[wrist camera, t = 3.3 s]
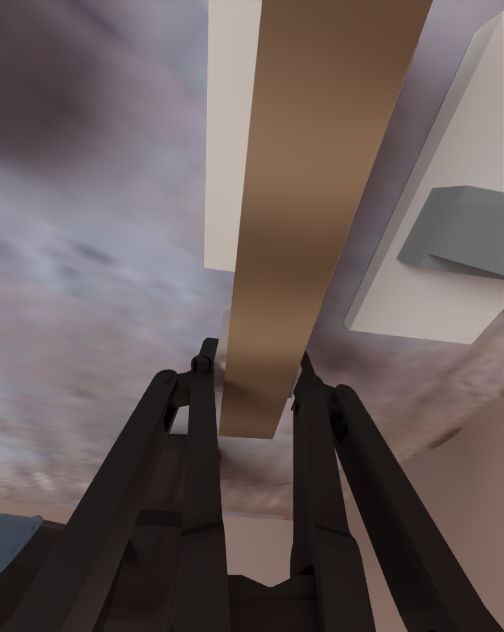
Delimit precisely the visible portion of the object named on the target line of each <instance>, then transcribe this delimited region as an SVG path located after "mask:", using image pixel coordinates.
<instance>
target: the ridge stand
mask: <svg viewBox="0 0 504 632" xmlns="http://www.w3.org/2000/svg"><path fill="white" fill-rule="evenodd" d="M503 309H504V11H502V12H501V13H500V14H498V15H497V16H496V17H494V18H493V19H492V20H490V21H489V22H488V23H486V24H485V25H484V26H482V27H481V28H480V29H478V30H477V31H476V32H475V33H474V35H473V37H472V40H471V42H470V44H469V46H468V48H467V51H466V53H465V55H464V57H463V59H462V62H461V64H460V66H459V68H458V70H457V73H456V75H455V77H454V79H453V82H452V84H451V86H450V88H449V90H448V93H447V95H446V97H445V99H444V101H443V104H442V106H441V108H440V110H439V112H438V115H437V117H436V119H435V121H434V123H433V126H432V128H431V130H430V132H429V134H428V137H427V139H426V141H425V143H424V146H423V148H422V150H421V152H420V154H419V157H418V159H417V161H416V163H415V165H414V168H413V170H412V172H411V174H410V176H409V179H408V181H407V183H406V185H405V187H404V190H403V192H402V194H401V196H400V199H399V201H398V203H397V205H396V207H395V210H394V212H393V214H392V216H391V218H390V221H389V223H388V225H387V227H386V229H385V232H384V234H383V236H382V238H381V240H380V243H379V245H378V247H377V249H376V252H375V254H374V256H373V258H372V260H371V263H370V265H369V267H368V269H367V271H366V274H365V276H364V278H363V280H362V282H361V285H360V287H359V289H358V291H357V293H356V296H355V298H354V300H353V302H352V305H351V307H350V309H349V311H348V313H347V316H346V318H345V320H344V322H343V323H344V324H345V326H346V327H347V328H348V329H349V331H358V332H367V333H376V334H384V335H393V336H402V337H411V338H419V339H428V340H437V341H446V342H455V343H463V344H472V343H473V342H474V341H475V339H476V338H477V337H478V336H479V335H480V334H481V333H482V332H483V331H484V330H485V328H486V327H487V326H488V325H489V324H490V323H491V322H492V321H493V320H494V319H495V318H496V316H497V315H498V314H499V313H500V312H501V311H502V310H503Z"/></svg>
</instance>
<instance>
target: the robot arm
mask: <svg viewBox="0 0 504 632" xmlns="http://www.w3.org/2000/svg"><path fill="white" fill-rule="evenodd" d="M230 316H231V310H225V314H224V319H223V323H222V328H221V332H220V337H219V339H216V338H206V339H205V340H204V341H203V344H202V347H201V350H200V353H199V355H197V356H195V357H194V358H193V359H192V361H191V370H190V371H188V372H185V373H180V374H177V372H175V371H174V370H170V369H168V370H163V371H160V372H159V373H157V374H156V375H155V376H154V378H153V380H152V381H151V383H150V385H149V386H148V388H147V390H146V392H145V393H144V395H143V397H142V398H141V400H140V402H139V403H138V405H137V407H136V408H135V410H134V412H133V413H132V415H131V417H130V418H129V420H128V422H127V424H126V425H125V427H124V429H123V430H122V432H121V434H120V435H119V437H118V439H117V440H116V442H115V444H114V445H113V447H112V449H111V450H110V452H109V454H108V455H107V457H106V459H105V461H104V462H103V464H102V466H101V467H100V469H99V471H98V472H97V474H96V476H95V477H94V479H93V481H92V482H91V484H90V486H89V487H88V489H87V491H86V493H85V494H84V496H83V498H82V499H81V501H80V503H79V504H78V506H77V508H76V510H75V511H74V513H73V514H72V516H71V518H70V520H69V521H68V523H67V524H62V523H56V522H52V521H47V520H43V517H41V516H39V515H37V516H34V517H26V516H18V515H11V514H3V513H0V632H376V629H375V623H374V619H373V613H372V608H371V603H370V599H369V593H368V588H367V583H366V578H365V573H364V568H363V563H362V557H361V554H360V550H359V547H358V544H357V542H356V540H355V539H354V537H353V536H352V535H351V533H350V531H349V527H348V522H347V517H346V511H345V505H344V499H343V494H342V488H341V482H340V476H339V471H338V465H337V459H336V453H335V449H336V452H337V454H338V457H339V460H340V462H341V465H342V467H343V470H344V473H345V475H346V478H347V480H348V483H349V486H350V488H351V491H352V493H353V496H354V499H355V501H356V504H357V506H358V509H359V512H360V514H361V517H362V520H363V522H364V525H365V527H366V530H367V533H368V535H369V538H370V540H371V543H372V545H373V548H374V551H375V553H376V556H377V558H378V561H379V564H380V566H381V569H382V571H383V574H384V577H385V579H386V582H387V585H388V587H389V590H390V592H391V595H392V597H393V599H394V602H395V604H396V607H397V609H398V612H399V614H400V616H401V618H402V620H403V622H404V625H405V627H406V628H407V631H408V632H504V630H503V629H502V628H501V626H500V625H499V624H498V623H497V621H496V620H495V619H494V617H493V616H492V615H491V614H490V612H489V611H488V610H487V609H486V607H485V606H484V604H483V603H482V601H481V599H480V597H479V596H478V594H477V592H476V591H475V589H474V588H473V586H472V584H471V583H470V581H469V579H468V578H467V576H466V574H465V573H464V571H463V569H462V568H461V566H460V564H459V563H458V561H457V559H456V558H455V556H454V554H453V553H452V551H451V550H450V548H449V546H448V544H447V543H446V541H445V540H444V538H443V536H442V535H441V533H440V531H439V530H438V528H437V526H436V525H435V523H434V521H433V520H432V518H431V517H430V515H429V513H428V512H427V510H426V508H425V507H424V505H423V503H422V501H421V500H420V498H419V496H418V495H417V493H416V491H415V490H414V488H413V487H412V485H411V483H410V482H409V480H408V478H407V477H406V475H405V473H404V472H403V470H402V468H401V467H400V465H399V463H398V462H397V460H396V458H395V457H394V455H393V453H392V452H391V450H390V448H389V447H388V445H387V443H386V442H385V440H384V438H383V437H382V435H381V434H380V432H379V430H378V429H377V427H376V425H375V424H374V422H373V420H372V419H371V417H370V415H369V414H368V412H367V410H366V409H365V407H364V405H363V404H362V402H361V400H360V399H359V397H358V395H357V394H356V392H355V391H354V390H353V389H352V388H350V387H349V386H347V385H343V384H339V385H337V386H336V388H334V387H331V386H328V385H326V384H324V383H323V381H322V380H321V379H320V377H318V376H317V375H315V372H314V370H313V367H312V365H311V362H310V360H309V357H308V354H307V352H306V351H305V352H304V354H303V357H302V360H301V363H300V365H299V368H298V371H297V374H296V376H295V379H294V382H293V385H292V387H291V390H290V393H289V395H288V398H292V396H293V393H294V396H295V400H294V402H293V405H292V407H291V411H292V410H293V522H294V523H293V526H294V527H293V545H292V551H291V559H290V579H288V580H286V581H284V582H282V583H280V584H278V585H276V586H274V587H267V586H265V585H263V584H261V583H258V582H256V581H254V580H251V579H249V578H247V577H245V576H243V575H227V561H226V546H225V533H224V525H223V519H222V506H221V490H220V473H219V471H220V462H221V456H220V453H219V452H218V441H217V425H216V408H215V392H223V386H224V376H225V366H226V356H227V346H228V336H229V326H230ZM187 405H189V420H188V436H182V435H169V433H170V430H171V427H172V425H173V422H174V420H175V417H176V414H177V412H178V409H179V407H182V406H187ZM334 447H335V448H334Z"/></svg>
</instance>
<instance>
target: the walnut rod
mask: <svg viewBox="0 0 504 632" xmlns="http://www.w3.org/2000/svg"><path fill="white" fill-rule="evenodd" d="M432 1H433V0H262V6H261V16H260V26H259V36H258V46H257V56H256V66H255V76H254V86H253V96H252V106H251V116H250V126H249V136H248V146H247V156H246V166H245V176H244V186H243V196H242V206H241V216H240V226H239V236H238V246H237V256H236V266H235V276H234V286H233V296H232V306H231V316H230V326H229V336H228V346H227V356H226V366H225V376H224V386H223V396H222V406H221V416H220V426H219V436H228V437H244V438H260V439H273V437H274V434H275V431H276V428H277V426H278V423H279V420H280V417H281V415H282V412H283V409H284V406H285V404H286V401H287V398H288V395H289V393H290V390H291V387H292V385H293V382H294V379H295V376H296V374H297V371H298V368H299V365H300V363H301V360H302V357H303V354H304V352H305V349H306V346H307V343H308V341H309V338H310V335H311V332H312V330H313V327H314V324H315V322H316V319H317V316H318V313H319V311H320V308H321V305H322V302H323V300H324V297H325V294H326V291H327V289H328V286H329V283H330V280H331V278H332V275H333V272H334V270H335V267H336V264H337V261H338V259H339V256H340V253H341V250H342V248H343V245H344V242H345V239H346V237H347V234H348V231H349V228H350V226H351V223H352V220H353V217H354V215H355V212H356V209H357V207H358V204H359V201H360V198H361V196H362V193H363V190H364V187H365V185H366V182H367V179H368V176H369V174H370V171H371V168H372V165H373V163H374V160H375V157H376V155H377V152H378V149H379V146H380V144H381V141H382V138H383V135H384V133H385V130H386V127H387V124H388V122H389V119H390V116H391V113H392V111H393V108H394V105H395V102H396V100H397V97H398V94H399V92H400V89H401V86H402V83H403V81H404V78H405V75H406V72H407V70H408V67H409V64H410V61H411V59H412V56H413V53H414V50H415V48H416V45H417V42H418V40H419V37H420V34H421V31H422V29H423V26H424V23H425V20H426V18H427V15H428V12H429V9H430V7H431V4H432Z"/></svg>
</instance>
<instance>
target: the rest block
mask: <svg viewBox="0 0 504 632" xmlns="http://www.w3.org/2000/svg"><path fill="white" fill-rule="evenodd" d="M261 6H262V1H258V0H209V28H208V85H207V142H206V198H205V255H204V268H210V269H218V270H225V271H232V272H235V266H236V256H237V246H238V236H239V226H240V216H241V206H242V196H243V186H244V176H245V166H246V156H247V146H248V136H249V126H250V116H251V106H252V96H253V86H254V76H255V66H256V56H257V46H258V36H259V26H260V16H261ZM417 45H418V42H417ZM417 45H416V47H417ZM415 50H416V48H415ZM415 50H414V53H415ZM414 53H413V56H414ZM413 56H412V58H413ZM411 61H412V59H411ZM411 61H410V64H411ZM410 64H409V67H410ZM409 67H408V69H409ZM407 72H408V70H407ZM407 72H406V75H407ZM406 75H405V77H406ZM404 80H405V78H404ZM403 83H404V81H403ZM403 83H402V86H403ZM402 86H401V88H402ZM400 91H401V89H400ZM399 94H400V92H399ZM399 94H398V97H399ZM398 97H397V99H398ZM396 102H397V100H396ZM396 102H395V105H396ZM395 105H394V107H395ZM393 110H394V108H393ZM392 113H393V111H392ZM392 113H391V116H392ZM391 116H390V118H391ZM389 121H390V119H389ZM388 124H389V122H388ZM388 124H387V127H388ZM387 127H386V129H387ZM385 132H386V130H385ZM384 135H385V133H384ZM384 135H383V137H384ZM382 140H383V138H382ZM381 143H382V141H381ZM380 146H381V144H380ZM380 146H379V148H380ZM378 151H379V149H378ZM377 154H378V152H377ZM376 157H377V155H376ZM376 157H375V159H376ZM374 162H375V160H374ZM373 165H374V163H373ZM373 165H372V167H373ZM371 170H372V168H371ZM370 173H371V171H370ZM369 176H370V174H369ZM369 176H368V178H369ZM367 181H368V179H367ZM366 184H367V182H366ZM365 187H366V185H365ZM365 187H364V189H365ZM363 192H364V190H363ZM362 195H363V193H362ZM361 197H362V196H361ZM360 200H361V198H360ZM359 203H360V201H359ZM358 206H359V204H358ZM357 208H358V207H357ZM356 211H357V209H356ZM355 214H356V212H355ZM354 217H355V215H354ZM354 217H353V219H354ZM352 222H353V220H352ZM351 225H352V223H351ZM350 227H351V226H350ZM349 230H350V228H349ZM348 233H349V231H348ZM347 236H348V234H347ZM346 238H347V237H346ZM345 241H346V239H345ZM344 244H345V242H344ZM343 247H344V245H343ZM342 249H343V248H342ZM341 252H342V250H341ZM340 255H341V253H340ZM339 257H340V256H339ZM338 260H339V259H338ZM337 263H338V261H337ZM336 266H337V264H336ZM335 268H336V267H335ZM334 271H335V270H334ZM333 274H334V272H333ZM332 277H333V275H332ZM331 279H332V278H331ZM330 282H331V280H330ZM329 285H330V283H329Z"/></svg>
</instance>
